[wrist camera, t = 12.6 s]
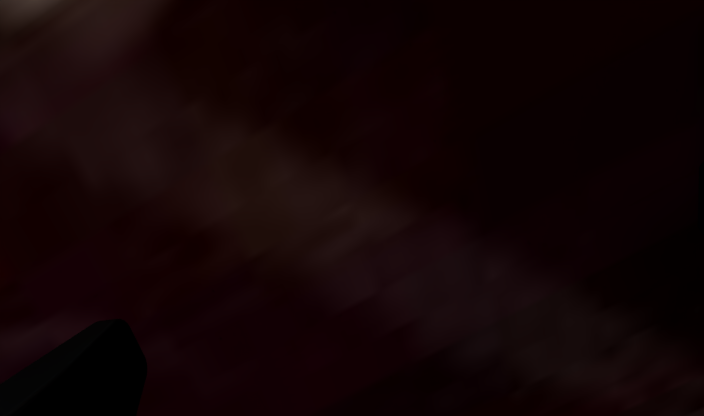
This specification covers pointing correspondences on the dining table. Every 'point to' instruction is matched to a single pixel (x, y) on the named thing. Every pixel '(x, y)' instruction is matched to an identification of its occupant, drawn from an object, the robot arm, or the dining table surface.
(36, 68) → the dining table surface
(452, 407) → the dining table surface
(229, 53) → the dining table surface
